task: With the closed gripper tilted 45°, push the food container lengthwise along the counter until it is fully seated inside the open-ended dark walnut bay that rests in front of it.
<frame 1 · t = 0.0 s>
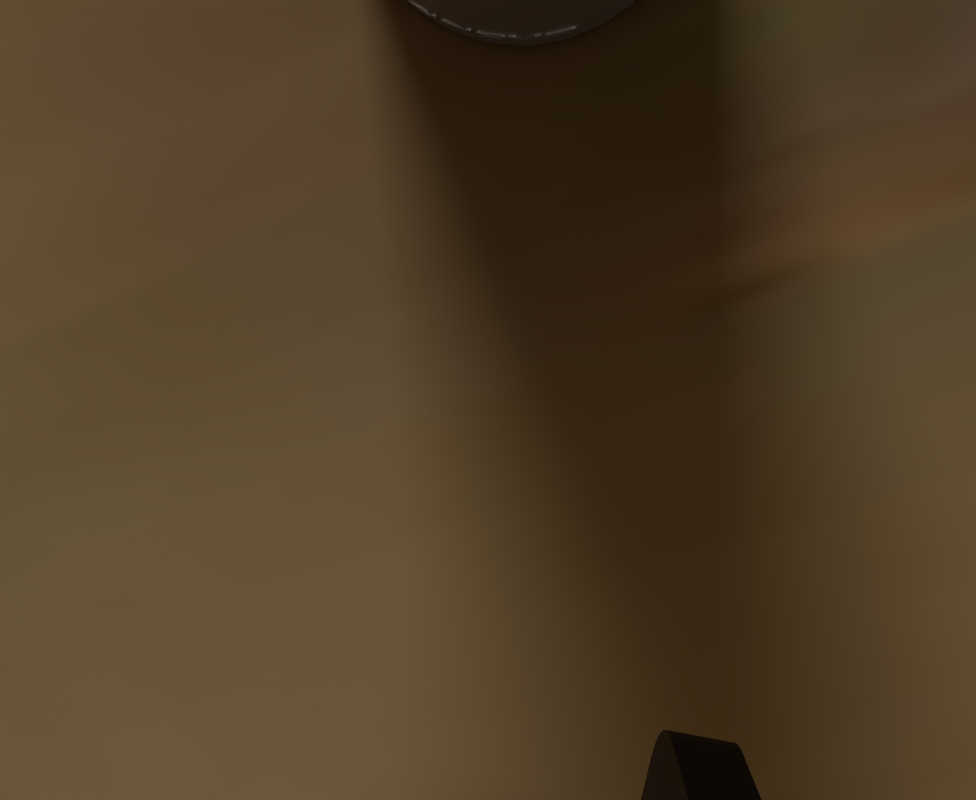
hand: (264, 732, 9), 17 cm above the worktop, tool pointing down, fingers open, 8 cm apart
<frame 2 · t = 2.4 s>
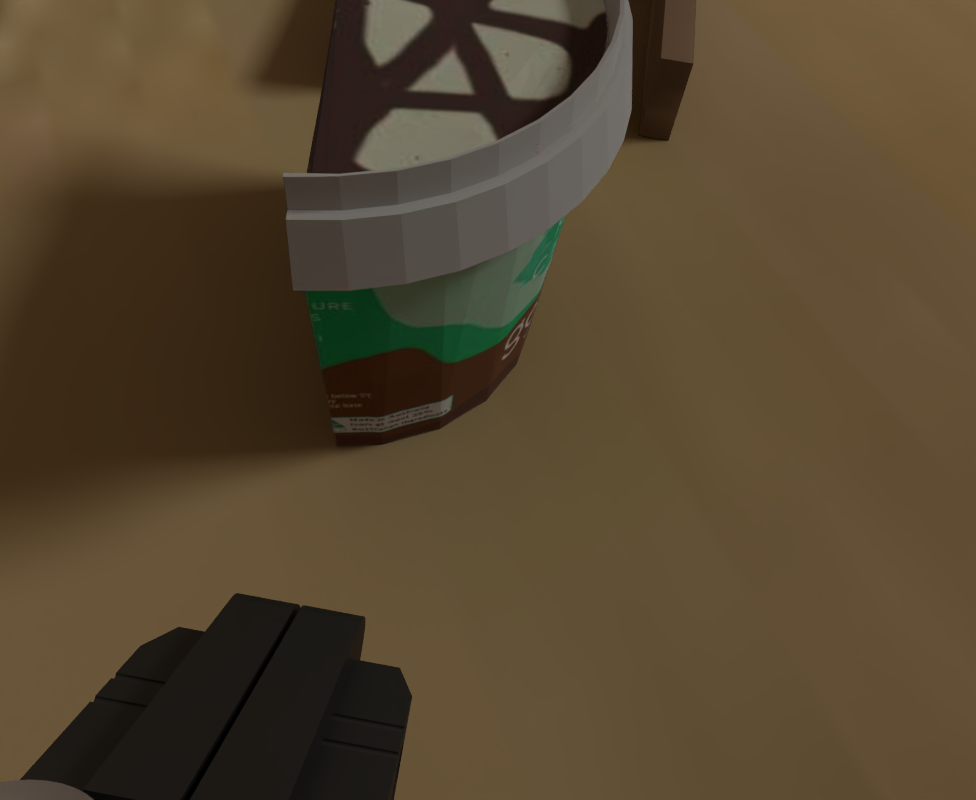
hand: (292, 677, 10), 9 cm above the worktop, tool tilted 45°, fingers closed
food container: (463, 312, 25), on the worktop
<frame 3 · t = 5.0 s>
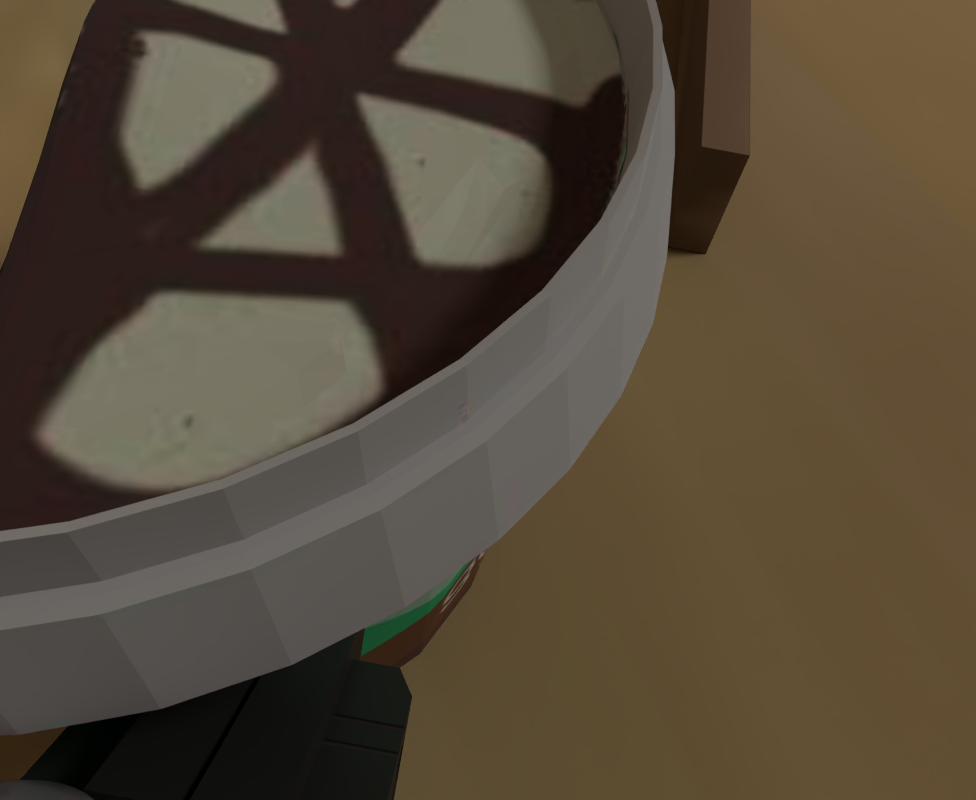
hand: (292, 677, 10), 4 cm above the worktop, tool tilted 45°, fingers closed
bay: (521, 22, 24), on the worktop
food container: (394, 493, 16), on the worktop, touching gripper
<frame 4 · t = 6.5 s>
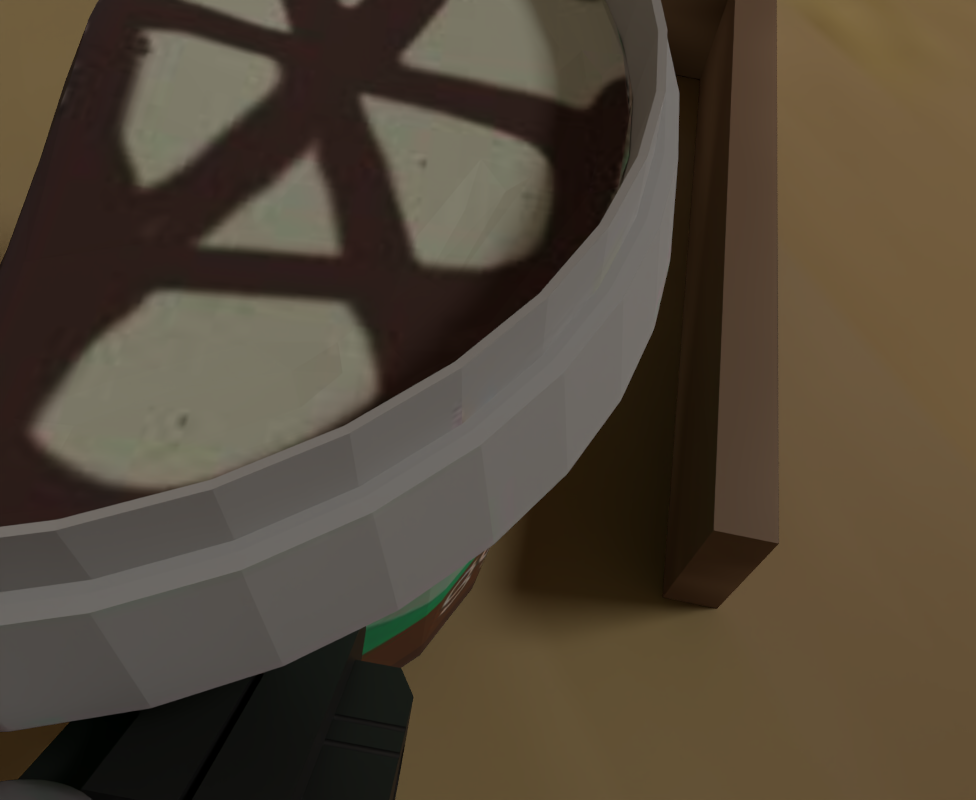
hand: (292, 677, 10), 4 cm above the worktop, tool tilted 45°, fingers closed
bay: (491, 247, 20), on the worktop
food container: (397, 493, 16), on the worktop, touching gripper
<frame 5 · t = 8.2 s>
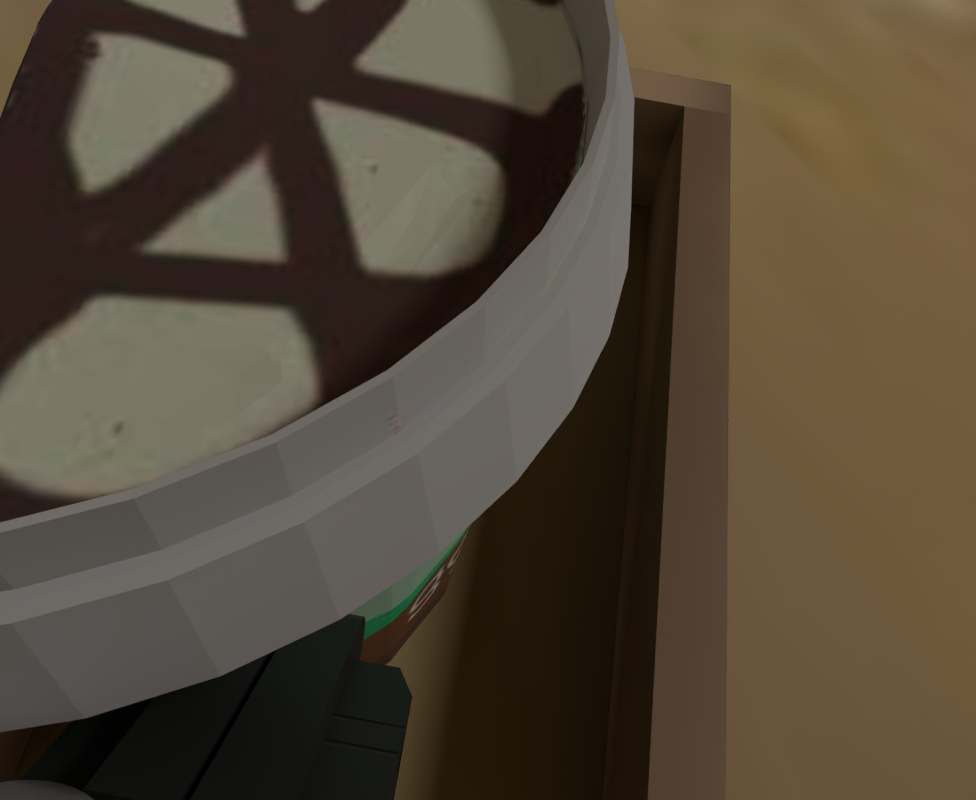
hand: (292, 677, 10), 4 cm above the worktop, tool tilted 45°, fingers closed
bay: (402, 435, 17), on the worktop
food container: (371, 498, 16), on the worktop
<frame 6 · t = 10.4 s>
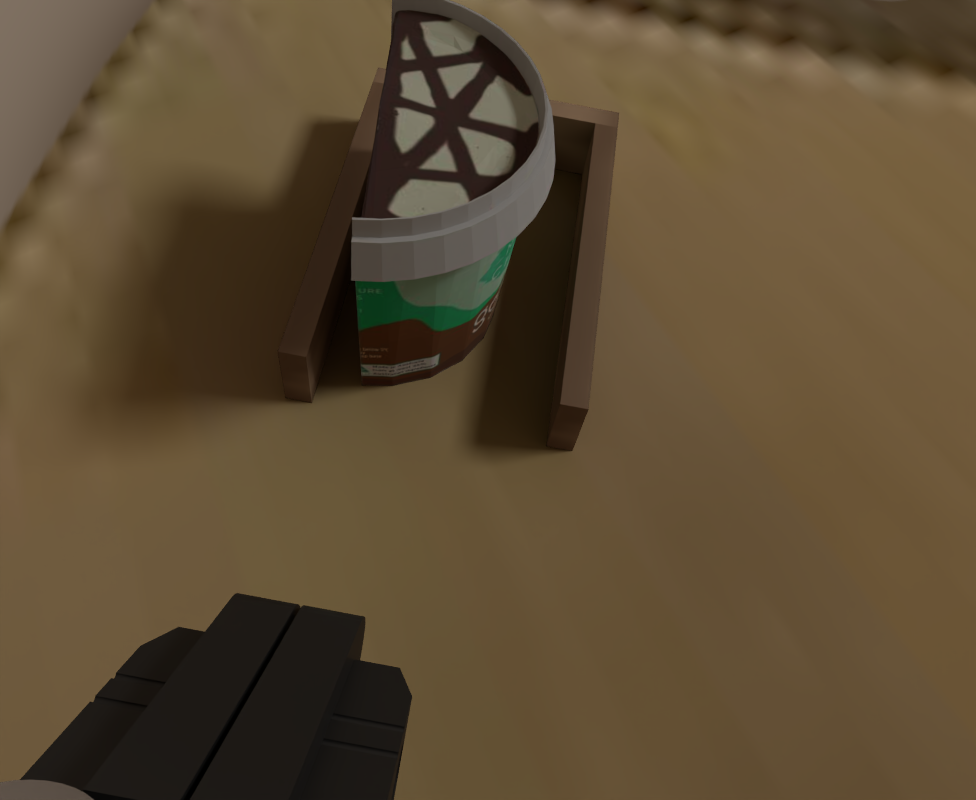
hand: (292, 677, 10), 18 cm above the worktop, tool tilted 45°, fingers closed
bay: (462, 275, 37), on the worktop
food container: (449, 301, 36), on the worktop
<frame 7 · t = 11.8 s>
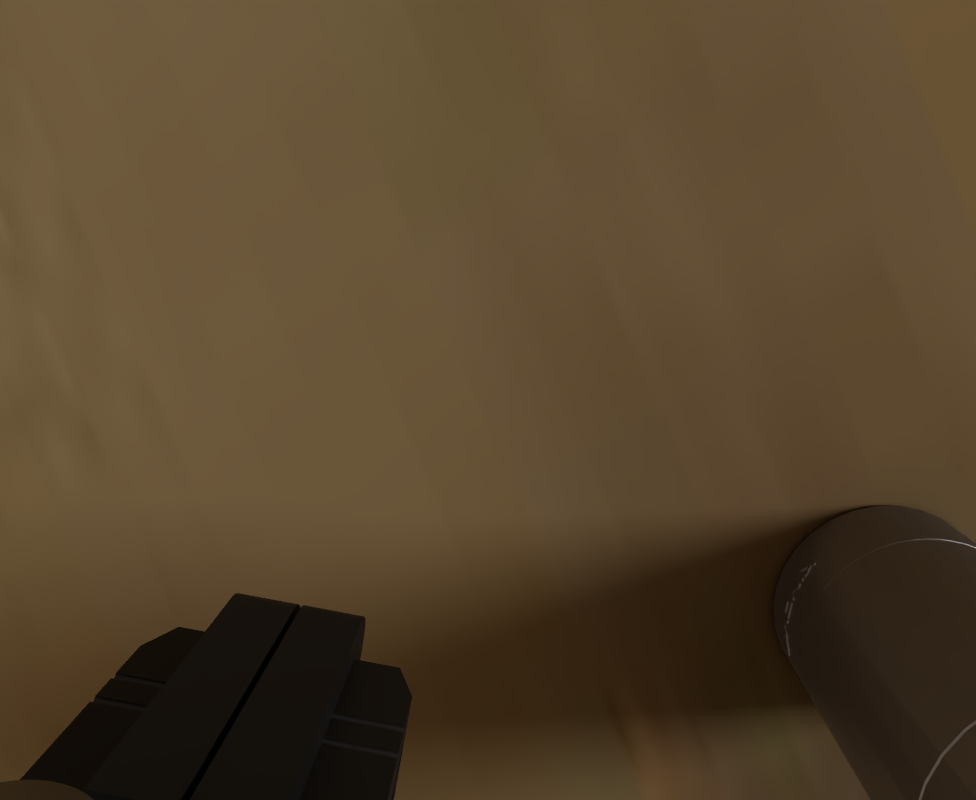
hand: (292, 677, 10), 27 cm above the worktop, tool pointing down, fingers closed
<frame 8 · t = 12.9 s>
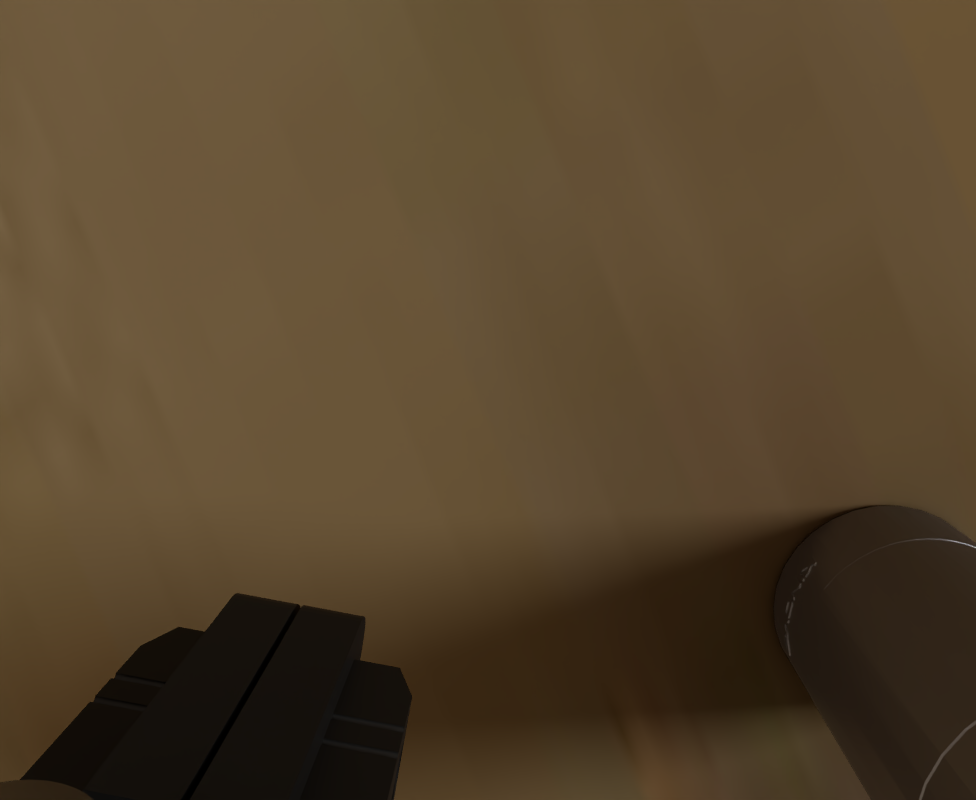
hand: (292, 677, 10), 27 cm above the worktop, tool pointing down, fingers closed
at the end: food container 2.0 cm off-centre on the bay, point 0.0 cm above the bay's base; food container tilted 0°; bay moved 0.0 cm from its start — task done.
